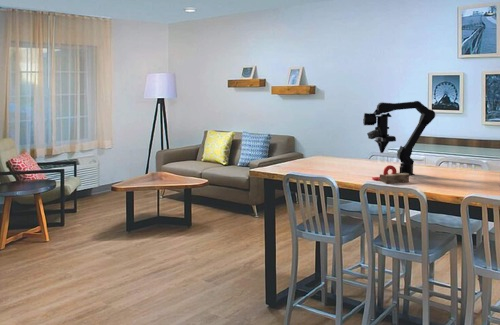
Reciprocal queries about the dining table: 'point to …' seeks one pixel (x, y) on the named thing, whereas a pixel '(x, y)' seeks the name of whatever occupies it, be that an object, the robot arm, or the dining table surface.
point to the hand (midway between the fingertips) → (381, 152)
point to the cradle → (395, 178)
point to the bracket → (386, 172)
